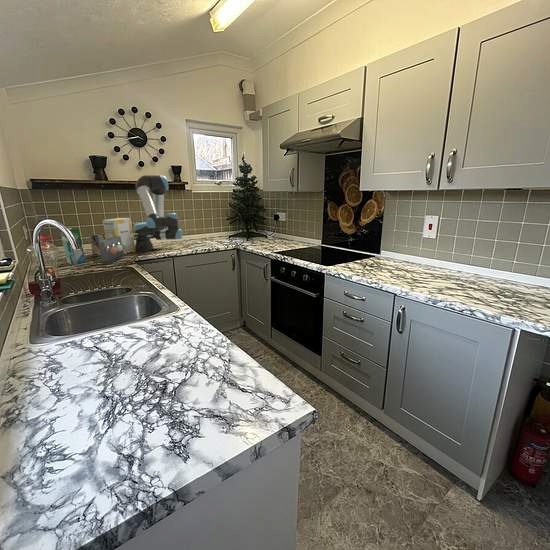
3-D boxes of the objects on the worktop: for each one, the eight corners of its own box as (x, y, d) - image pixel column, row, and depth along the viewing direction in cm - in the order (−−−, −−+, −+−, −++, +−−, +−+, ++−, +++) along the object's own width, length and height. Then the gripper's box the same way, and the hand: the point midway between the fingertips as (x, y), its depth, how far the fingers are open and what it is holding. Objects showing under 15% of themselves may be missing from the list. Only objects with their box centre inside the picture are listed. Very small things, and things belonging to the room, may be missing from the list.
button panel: (124, 256, 234) (120, 236, 229) (108, 264, 211) (104, 241, 206) (113, 256, 234) (110, 236, 229) (96, 264, 211) (92, 241, 206)
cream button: (122, 250, 222) (121, 244, 221) (120, 251, 218) (119, 245, 217) (118, 250, 222) (117, 244, 221) (115, 251, 218) (114, 245, 217)
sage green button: (127, 248, 230) (126, 242, 229) (125, 249, 226) (124, 243, 225) (123, 248, 230) (123, 242, 229) (121, 249, 226) (120, 243, 225)
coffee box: (107, 254, 245) (104, 234, 240) (101, 255, 239) (97, 235, 234) (99, 253, 247) (95, 234, 243) (92, 255, 241) (88, 235, 237)
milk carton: (81, 260, 223) (74, 227, 216) (85, 262, 217) (78, 228, 210) (67, 263, 216) (59, 228, 209) (71, 264, 210) (63, 229, 203)
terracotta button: (117, 252, 215) (116, 246, 213) (114, 254, 211) (113, 247, 209) (113, 252, 215) (112, 246, 213) (110, 254, 210) (109, 248, 209)
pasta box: (119, 256, 236) (113, 220, 228) (108, 255, 239) (102, 220, 231) (135, 251, 253) (130, 218, 245) (125, 250, 256) (120, 218, 248)
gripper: (163, 228, 230) (133, 229, 230) (157, 230, 218) (125, 231, 218) (164, 238, 233) (134, 239, 232) (158, 241, 220) (126, 241, 220)
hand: (130, 235), depth 225 cm, fingers closed
